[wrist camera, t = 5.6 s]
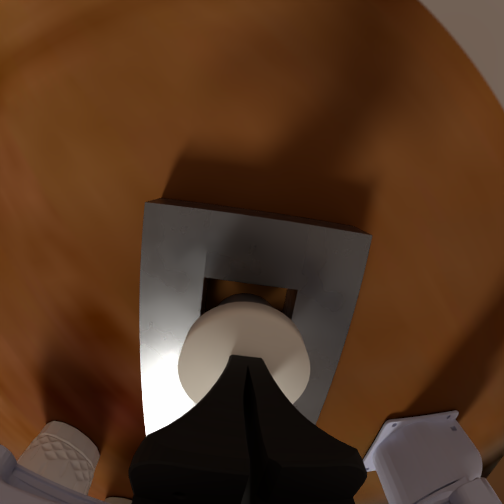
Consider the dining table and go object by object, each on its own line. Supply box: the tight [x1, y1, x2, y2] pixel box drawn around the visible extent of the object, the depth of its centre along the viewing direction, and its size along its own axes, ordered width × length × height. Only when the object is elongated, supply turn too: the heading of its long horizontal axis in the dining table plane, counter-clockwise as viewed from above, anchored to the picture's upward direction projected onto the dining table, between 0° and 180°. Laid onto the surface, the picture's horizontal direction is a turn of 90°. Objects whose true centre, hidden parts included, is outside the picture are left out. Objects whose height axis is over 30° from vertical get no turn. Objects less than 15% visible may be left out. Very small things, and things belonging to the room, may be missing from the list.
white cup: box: [17, 421, 100, 495], centre depth 19 cm, size 8×8×10 cm
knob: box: [178, 293, 310, 404], centre depth 15 cm, size 6×6×5 cm
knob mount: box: [140, 198, 372, 436], centre depth 20 cm, size 12×24×3 cm, turn 172°
